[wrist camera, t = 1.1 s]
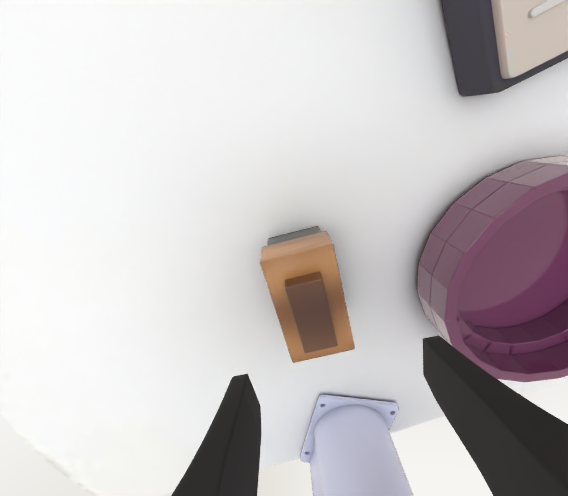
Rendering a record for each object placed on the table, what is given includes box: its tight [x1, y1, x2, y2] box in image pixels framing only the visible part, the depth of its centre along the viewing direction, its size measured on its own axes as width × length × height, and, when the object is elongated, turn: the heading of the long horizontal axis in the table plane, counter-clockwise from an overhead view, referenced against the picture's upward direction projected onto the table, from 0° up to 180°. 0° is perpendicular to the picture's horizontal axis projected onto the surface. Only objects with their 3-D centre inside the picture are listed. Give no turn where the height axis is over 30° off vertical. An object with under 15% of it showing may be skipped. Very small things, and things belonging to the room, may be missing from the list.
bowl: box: [417, 156, 568, 382], centre depth 20 cm, size 16×16×4 cm
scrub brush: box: [260, 226, 355, 363], centre depth 19 cm, size 8×4×6 cm, turn 15°
